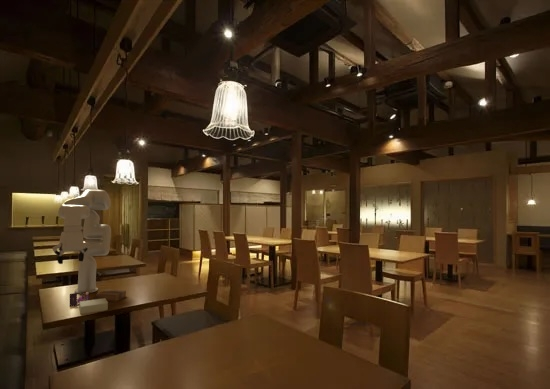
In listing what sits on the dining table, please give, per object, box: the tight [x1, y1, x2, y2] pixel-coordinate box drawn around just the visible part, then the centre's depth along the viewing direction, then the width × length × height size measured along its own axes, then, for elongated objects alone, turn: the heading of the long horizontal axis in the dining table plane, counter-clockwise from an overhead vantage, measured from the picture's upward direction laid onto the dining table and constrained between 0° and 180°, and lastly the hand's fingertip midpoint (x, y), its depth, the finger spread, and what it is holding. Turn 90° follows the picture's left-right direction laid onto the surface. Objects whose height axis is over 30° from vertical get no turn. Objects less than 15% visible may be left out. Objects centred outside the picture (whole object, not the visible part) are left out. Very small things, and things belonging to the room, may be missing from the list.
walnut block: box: [95, 289, 127, 303], centre depth 180 cm, size 10×12×4 cm
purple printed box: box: [69, 291, 90, 308], centre depth 169 cm, size 7×5×9 cm
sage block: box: [78, 298, 109, 315], centre depth 161 cm, size 10×12×4 cm
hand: (70, 262), depth 159 cm, fingers open, 9 cm apart
